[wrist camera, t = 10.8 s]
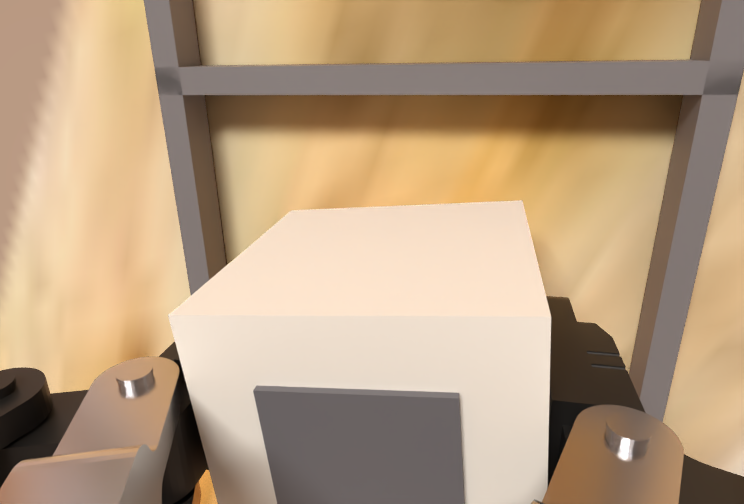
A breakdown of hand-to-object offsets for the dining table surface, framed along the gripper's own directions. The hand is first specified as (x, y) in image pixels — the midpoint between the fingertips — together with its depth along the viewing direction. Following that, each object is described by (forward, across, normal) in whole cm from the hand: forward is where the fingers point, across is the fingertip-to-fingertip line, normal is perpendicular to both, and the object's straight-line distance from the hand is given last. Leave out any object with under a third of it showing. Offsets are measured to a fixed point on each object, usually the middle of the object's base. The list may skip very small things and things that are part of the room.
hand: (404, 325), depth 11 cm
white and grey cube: (+1, 0, 0) cm, 1 cm away
